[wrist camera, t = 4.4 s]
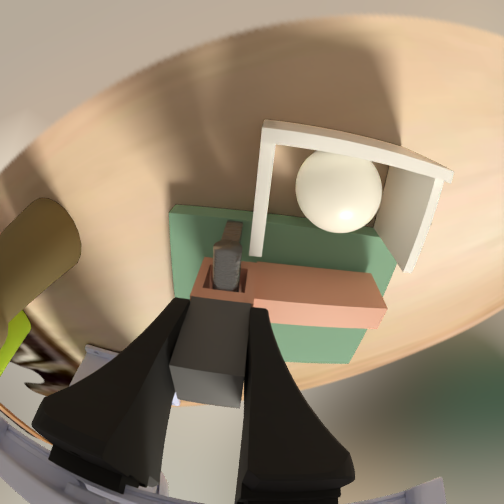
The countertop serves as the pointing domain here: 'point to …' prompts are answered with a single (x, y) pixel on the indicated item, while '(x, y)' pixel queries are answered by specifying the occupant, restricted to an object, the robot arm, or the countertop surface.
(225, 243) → the rod
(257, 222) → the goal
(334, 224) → the ball
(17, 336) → the soap dispenser
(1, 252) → the cork
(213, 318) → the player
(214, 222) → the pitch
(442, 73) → the countertop surface
